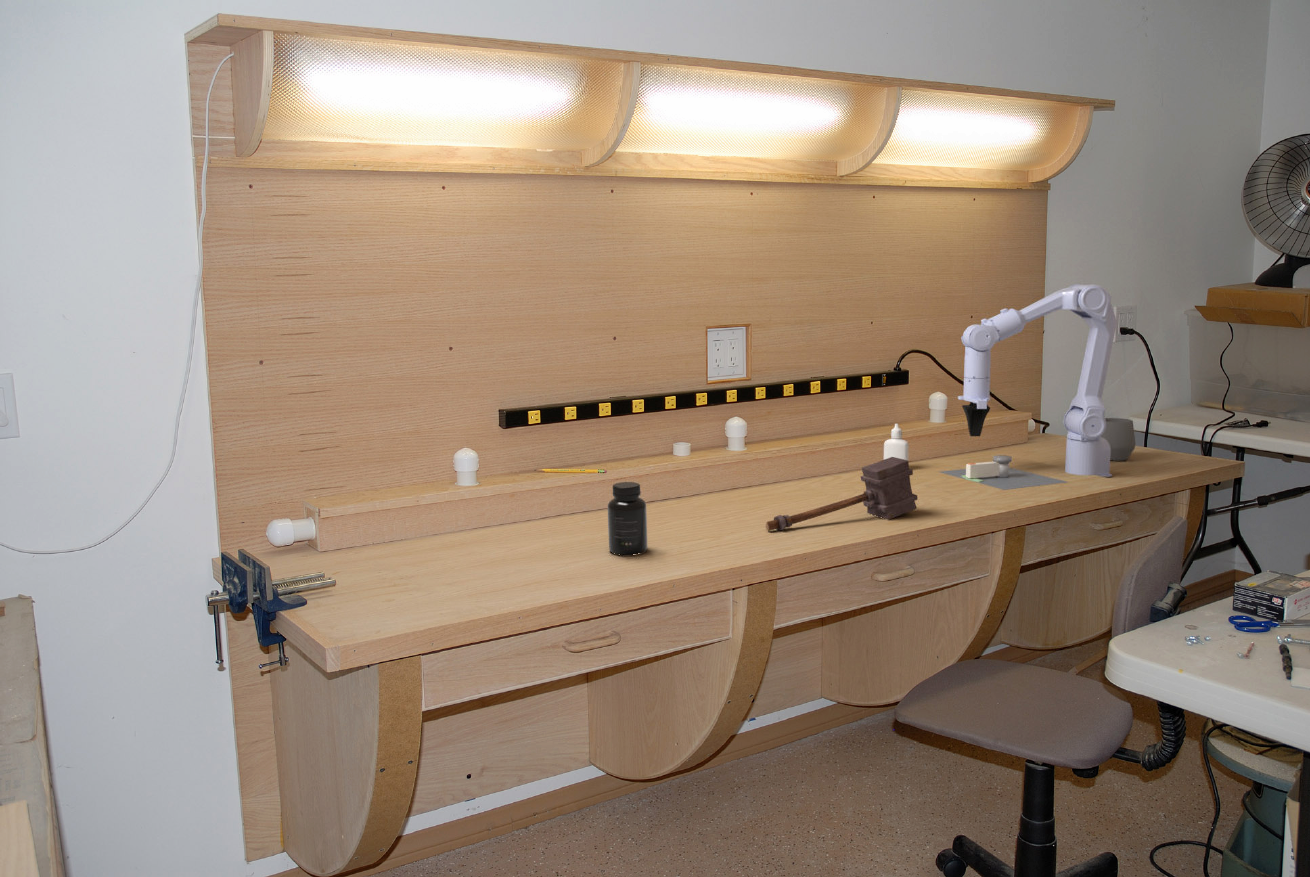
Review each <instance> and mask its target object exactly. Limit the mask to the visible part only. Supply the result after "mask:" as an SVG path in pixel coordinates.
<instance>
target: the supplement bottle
mask: <svg viewBox="0 0 1310 877" xmlns="http://www.w3.org/2000/svg"><path fill="white" fill-rule="evenodd" d="M611 494H612V497H613V498H612V499H611V500H610V501H609V502H608V503H607V530H608V531H607V533H608V534H607V535H608V550H609V551H611V552H612V553H611V552H610V553H611V554H613V553H615V554H620V555H633V554H638V553H642V554H644V553H645V552H646V551H647V550H648V525H647V524H648V517H647V515H648V514H647V503H646V500H644V499H643V498H642V497H640V496H641V495H642V492H641V484H640V483H638V482H634V481H623V482H622V481H621V482H615V483H613V485H612V492H611ZM644 551H645V552H644ZM643 552H644V553H643ZM615 554H614V555H615ZM620 555H619V556H620ZM633 556H634V555H633Z"/></svg>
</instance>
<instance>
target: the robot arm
mask: <svg viewBox="0 0 1310 877" xmlns="http://www.w3.org/2000/svg"><path fill="white" fill-rule="evenodd" d="M1111 302H1112V296H1111V294H1110V293H1109V292H1107V290H1106V289H1105V287H1102V286H1101V285H1099V284H1081V283H1076V284H1073V285H1071V286H1069V287H1064V288H1061V289H1059V290H1057V291H1055V292H1053V293H1051V294H1049V295H1047V296H1045V297H1043V298H1041V299H1039V300H1037V301H1036V302H1034V303H1031V304H1029V305H1028V306H1026V307H1023V308H1022V309H1020V310H1018V309H1015V308H1009V309H1008V308H1003V309H1000V313H998V314H997V315H995V316H992V317H990V318H988V319H987V318H982V319H981V320H980V321H981V322H980V324H972V325H969V326H967V328H965V330H964V332H963V334H962V336H961V337H960V338H961V343H962V344H963V346H965V347H964V348H965V349H964V361H963V363H964V367H963V369H964V370H963V391H962V392H963V394H962V395H958V396H957V399H958V400H960V401H964V402H969V404H962V405H961V407H962V409H963V412H964V413H965V417H966V421H967V427H968V432H969V436H970V437H981V434H982V430H983V427H984V424H985V420H986V417H987V415H988V414H989V412H990V410H991V407H990V406H989V405H988V402H989V401H991V396H990V395H991V394H990V392H991V389H990V388H991V366H992V365H991V362H992V360H991V359H992V358H991V355H992V354H991V352H992V348H993V347H994V345H995V344H996V343H999V342H1001V341H1003V340H1004V341H1005V340H1006V339H1008V338H1010V337H1012V336H1014V335H1016V334H1019V333H1021V332H1022V331H1024V328H1025V326H1026V324H1028V323H1030V322H1032V321H1035V320H1036V319H1040V318H1042V317H1044V316H1046V315H1049V314H1051V313H1054V312H1056V311H1059V310H1066V311H1067V310H1068V311H1071V312H1072V313H1074V314H1076V315H1077V316H1079V317H1080V318H1081V319H1082V320H1083V321H1084V322H1085V324H1086V326H1088V327H1089V330H1088V335H1087V341H1086V346H1085V350H1084V351H1085V352H1084V356H1083V360H1082V361H1083V362H1082V366H1081V372H1080V377H1079V382H1078V385H1077V390H1076V395H1075V396H1074V397H1073V398H1072V400H1071V401H1070V405H1069V408H1068V410H1067V411H1066V412H1065V414H1064V416H1063V420H1062V423H1063V427H1064V428H1065V430H1066V431H1067V434H1066V445H1065V460H1064V461H1065V464H1064V466H1065V467H1064V473H1067V474H1071V475H1076V476H1077V475H1078V476H1097V477H1101V478H1109V477H1112V476H1113V474H1112V473H1110V471H1111V470H1110V468H1111V461H1110V454H1111V449H1110V445H1109V443H1108V441H1107V440H1106V439H1104V438H1102V437H1101V435H1103V433H1104V432H1105V429H1106V420H1105V418H1106V417H1105V414H1106V407H1105V403H1104V402H1103V393H1104V388H1105V384H1106V380H1107V379H1106V377H1107V374H1108V369H1109V365H1110V364H1109V363H1110V358H1111V354H1112V348H1113V344H1114V343H1113V342H1114V340H1115V339H1114V338H1115V333H1116V327H1117V318H1116V315H1115V311H1114V308H1113V306H1112V303H1111Z"/></svg>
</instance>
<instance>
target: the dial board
mask: <svg viewBox="0 0 1310 877" xmlns="http://www.w3.org/2000/svg"><path fill="white" fill-rule="evenodd" d="M939 473H941V474H945V475H949V476H951V477H955V478H960V479H963V480H967V481H970V482H974V483H978V484H981V485H984V486H988V487H992V488H995V489H998V490H1003V491H1006V490H1007V491H1009V490H1017V489H1024V488H1033V487H1040V486H1047V485H1048V486H1049V485H1056V484H1064V483H1065V484H1066V483H1068V481H1066V480H1062V479H1058V478H1054V477H1049V476H1045V475H1041V474H1037V473H1034V472H1030V471H1029V472H1028V471H1027V470H1026V471H1025V470H1022V469H1021V470H1020V469H1018V468H1013V467H1009V477H1006V478H1001V477H995V476H990V477H979V478H968V477H966V468H960V469H950V470H942V471H939Z"/></svg>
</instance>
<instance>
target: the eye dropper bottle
mask: <svg viewBox="0 0 1310 877" xmlns="http://www.w3.org/2000/svg"><path fill="white" fill-rule="evenodd" d="M902 434H903V430H902V429H901V428H900V426H899V423H894V427H893V428H892V429H891V433H890V436H891V438H889V439H886V440H885V441H884V443H883V460H885V459H887V458H890V457H896V458H900V459H904V460H908V461H909V442H908V441H907V440H905V439H902V437H903V436H902Z"/></svg>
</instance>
